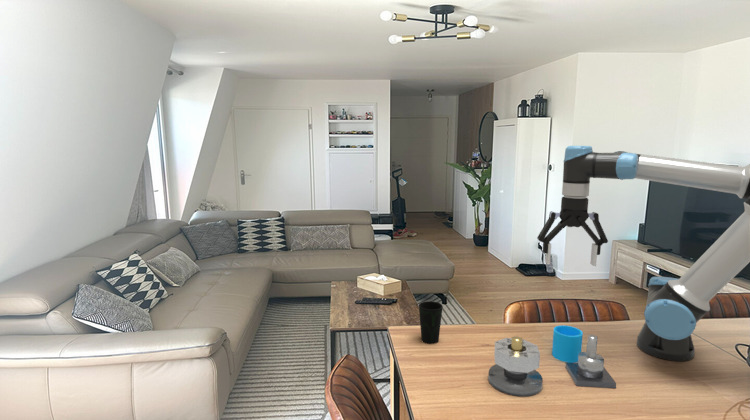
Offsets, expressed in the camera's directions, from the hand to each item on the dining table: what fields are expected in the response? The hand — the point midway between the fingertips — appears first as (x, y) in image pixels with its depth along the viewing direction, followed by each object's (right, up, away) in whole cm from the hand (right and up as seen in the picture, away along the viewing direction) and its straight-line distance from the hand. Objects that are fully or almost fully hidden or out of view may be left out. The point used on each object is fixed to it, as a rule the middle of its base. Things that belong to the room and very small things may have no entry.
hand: (570, 264), depth 140 cm
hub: (-23, -30, -18) cm, 42 cm away
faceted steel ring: (-23, -24, -19) cm, 38 cm away
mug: (-3, -28, -1) cm, 28 cm away
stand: (-1, -30, -16) cm, 33 cm away
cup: (-43, -26, +7) cm, 51 cm away
